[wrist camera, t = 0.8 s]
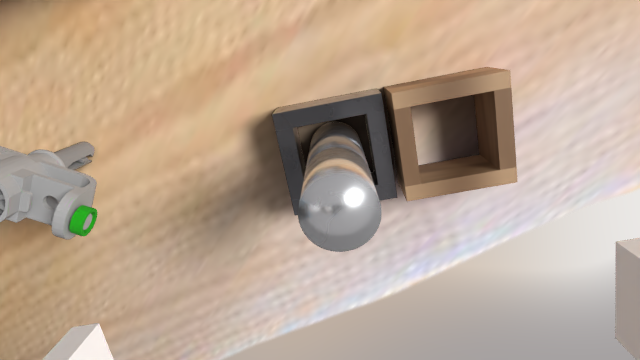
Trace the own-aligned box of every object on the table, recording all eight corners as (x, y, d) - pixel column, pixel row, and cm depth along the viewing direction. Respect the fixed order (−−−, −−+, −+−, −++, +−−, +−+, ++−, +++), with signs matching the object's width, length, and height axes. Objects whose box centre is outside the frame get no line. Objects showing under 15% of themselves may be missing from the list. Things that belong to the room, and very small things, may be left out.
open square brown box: (397, 182, 32) (407, 201, 28) (383, 86, 30) (391, 93, 26) (494, 165, 31) (517, 182, 28) (486, 66, 29) (510, 70, 26)
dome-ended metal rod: (315, 174, 32) (307, 257, 19) (305, 126, 31) (290, 182, 18) (364, 165, 32) (387, 244, 19) (356, 117, 31) (374, 167, 18)
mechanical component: (148, 192, 33) (74, 254, 23) (12, 147, 32) (-125, 192, 22) (157, 156, 32) (84, 204, 22) (17, 109, 31) (-123, 138, 21)
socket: (297, 200, 32) (294, 215, 30) (277, 107, 30) (271, 114, 28) (391, 183, 32) (397, 197, 29) (376, 88, 30) (381, 93, 27)
